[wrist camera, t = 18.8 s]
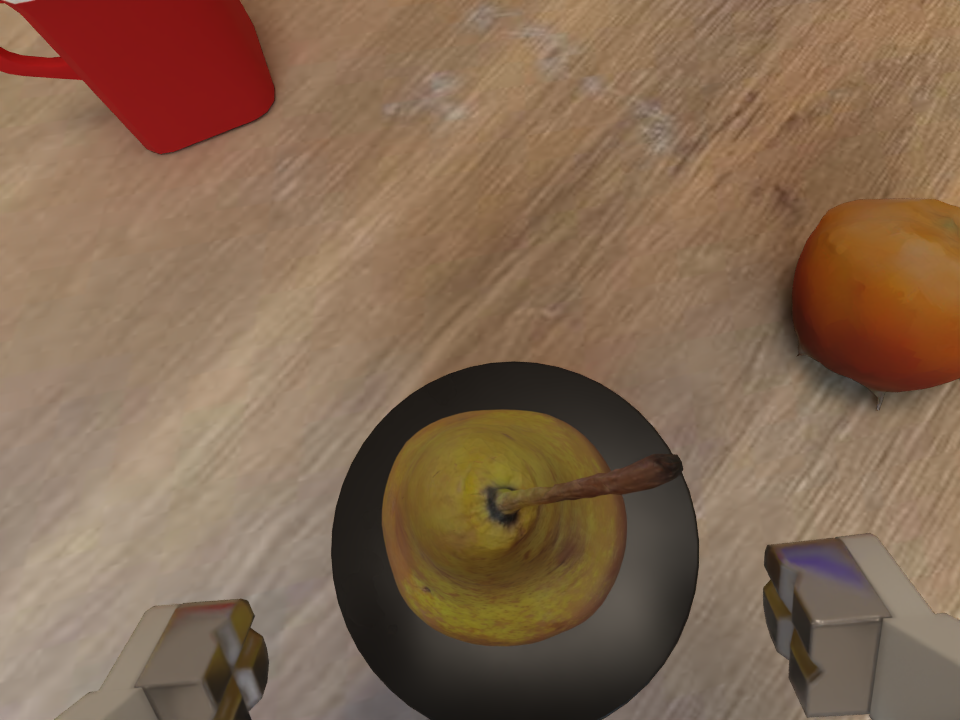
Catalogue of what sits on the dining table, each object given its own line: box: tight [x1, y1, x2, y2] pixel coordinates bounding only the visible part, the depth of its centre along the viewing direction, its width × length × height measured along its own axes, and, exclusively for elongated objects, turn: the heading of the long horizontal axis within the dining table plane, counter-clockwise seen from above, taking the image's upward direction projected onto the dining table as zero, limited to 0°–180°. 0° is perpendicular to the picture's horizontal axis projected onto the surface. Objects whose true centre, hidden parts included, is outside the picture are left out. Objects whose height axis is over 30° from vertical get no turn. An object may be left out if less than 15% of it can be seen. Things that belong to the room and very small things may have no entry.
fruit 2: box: [792, 199, 960, 411], centre depth 28 cm, size 8×8×8 cm
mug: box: [0, 0, 274, 154], centre depth 35 cm, size 12×8×11 cm
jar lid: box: [331, 362, 699, 720], centre depth 20 cm, size 10×10×2 cm
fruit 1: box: [382, 410, 683, 646], centre depth 13 cm, size 6×6×12 cm
